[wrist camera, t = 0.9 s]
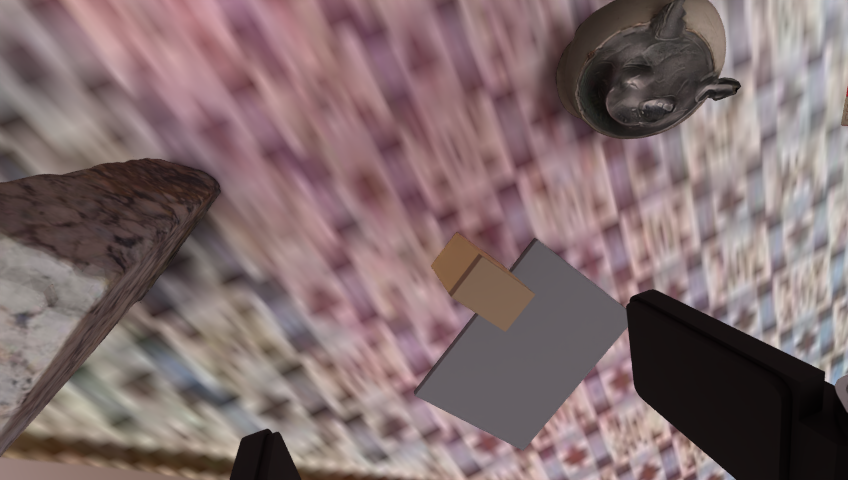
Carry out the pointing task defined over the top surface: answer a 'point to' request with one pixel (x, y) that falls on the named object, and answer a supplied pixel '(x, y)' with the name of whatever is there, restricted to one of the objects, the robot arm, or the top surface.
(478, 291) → the block
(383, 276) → the top surface
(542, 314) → the mat
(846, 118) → the stack of blocks
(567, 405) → the top surface
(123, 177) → the stone block
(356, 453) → the top surface
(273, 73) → the top surface
